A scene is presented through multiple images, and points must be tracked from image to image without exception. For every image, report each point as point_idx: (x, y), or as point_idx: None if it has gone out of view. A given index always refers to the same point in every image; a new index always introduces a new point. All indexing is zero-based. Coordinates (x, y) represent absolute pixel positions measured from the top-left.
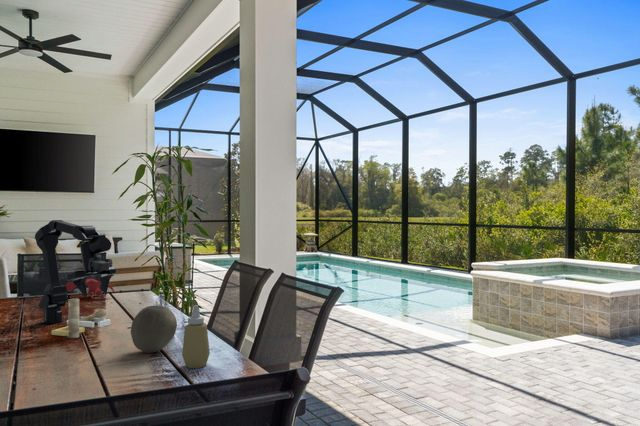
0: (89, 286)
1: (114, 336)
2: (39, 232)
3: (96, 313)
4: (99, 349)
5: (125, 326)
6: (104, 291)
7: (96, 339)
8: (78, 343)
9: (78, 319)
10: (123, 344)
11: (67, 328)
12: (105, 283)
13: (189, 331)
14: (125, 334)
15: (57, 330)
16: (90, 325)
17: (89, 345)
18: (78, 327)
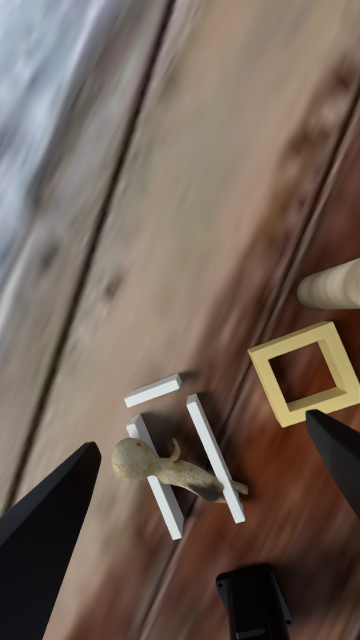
0: None
1: (214, 193)
2: None
3: (150, 464)
4: (347, 34)
5: (114, 316)
6: (92, 471)
7: (279, 194)
8: (353, 180)
9: (355, 260)
10: (254, 49)
11: (290, 408)
12: (5, 569)
13: None
14: (174, 194)
15: (350, 382)
16: (199, 404)
17: (341, 120)
18: (328, 269)
